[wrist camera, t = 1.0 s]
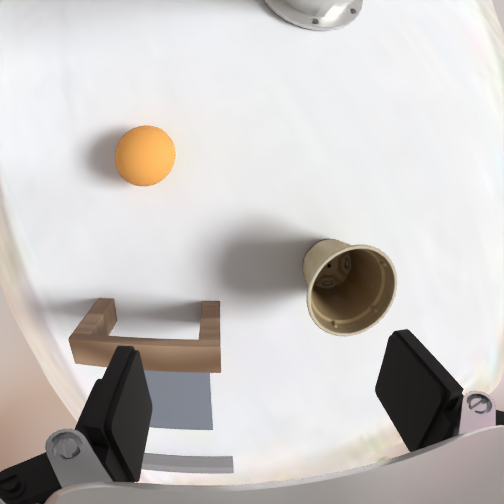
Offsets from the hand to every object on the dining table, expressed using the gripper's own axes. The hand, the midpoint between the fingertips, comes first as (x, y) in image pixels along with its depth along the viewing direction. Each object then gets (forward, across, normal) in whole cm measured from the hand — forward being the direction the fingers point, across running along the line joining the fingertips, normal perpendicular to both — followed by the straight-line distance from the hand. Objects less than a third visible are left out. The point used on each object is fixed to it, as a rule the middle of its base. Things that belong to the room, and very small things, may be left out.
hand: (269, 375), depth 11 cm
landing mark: (+24, +10, +25) cm, 36 cm away
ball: (+22, +9, -8) cm, 25 cm away
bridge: (+24, +10, +10) cm, 28 cm away
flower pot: (+25, -10, +5) cm, 27 cm away
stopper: (+24, +11, +40) cm, 48 cm away
